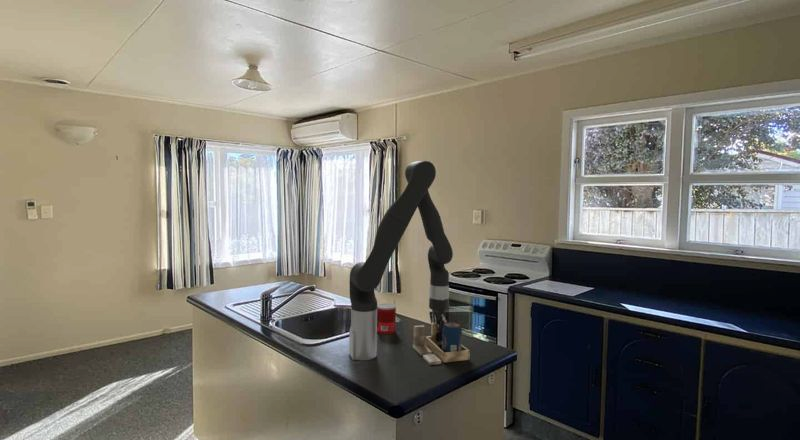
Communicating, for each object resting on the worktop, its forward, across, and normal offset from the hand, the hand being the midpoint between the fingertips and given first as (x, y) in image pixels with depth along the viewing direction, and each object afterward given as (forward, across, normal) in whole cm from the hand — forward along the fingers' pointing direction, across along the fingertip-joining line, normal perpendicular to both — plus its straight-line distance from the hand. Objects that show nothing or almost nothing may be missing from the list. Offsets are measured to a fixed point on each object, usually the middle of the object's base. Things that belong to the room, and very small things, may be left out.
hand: (437, 340), depth 161 cm
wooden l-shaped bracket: (+2, +8, -8) cm, 12 cm away
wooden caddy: (+2, +8, 0) cm, 8 cm away
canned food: (+2, -20, -15) cm, 25 cm away
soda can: (+2, +12, 0) cm, 12 cm away
